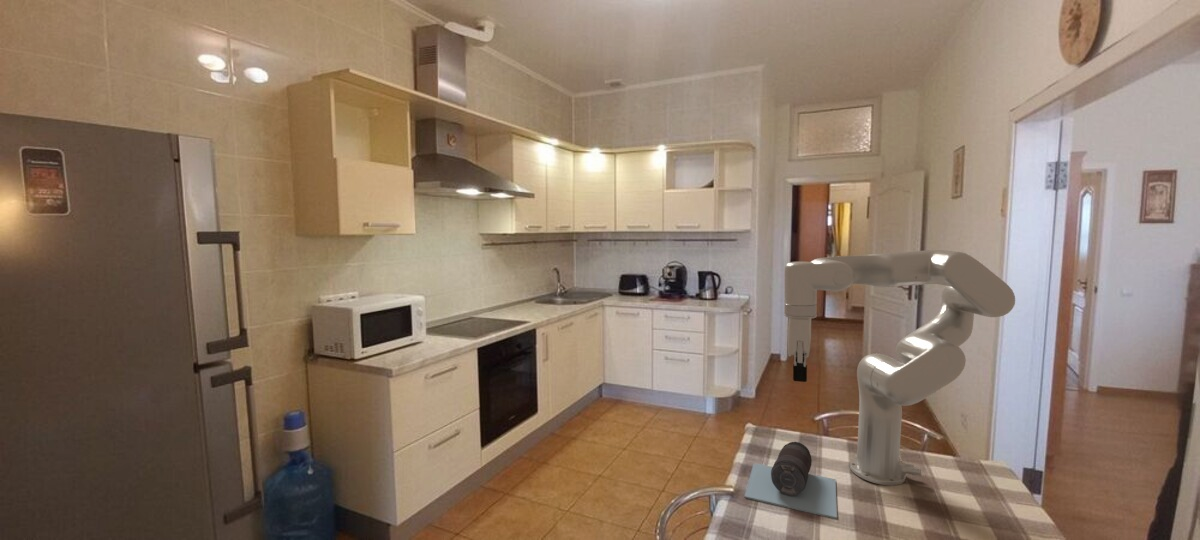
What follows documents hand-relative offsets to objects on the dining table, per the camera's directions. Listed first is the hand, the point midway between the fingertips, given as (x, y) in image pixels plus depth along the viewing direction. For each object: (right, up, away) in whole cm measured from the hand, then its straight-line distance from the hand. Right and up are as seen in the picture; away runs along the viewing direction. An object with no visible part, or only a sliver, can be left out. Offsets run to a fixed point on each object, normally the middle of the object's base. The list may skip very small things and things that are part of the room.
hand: (799, 380), depth 121 cm
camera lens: (+1, -21, +5) cm, 21 cm away
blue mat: (-4, -26, -4) cm, 27 cm away
